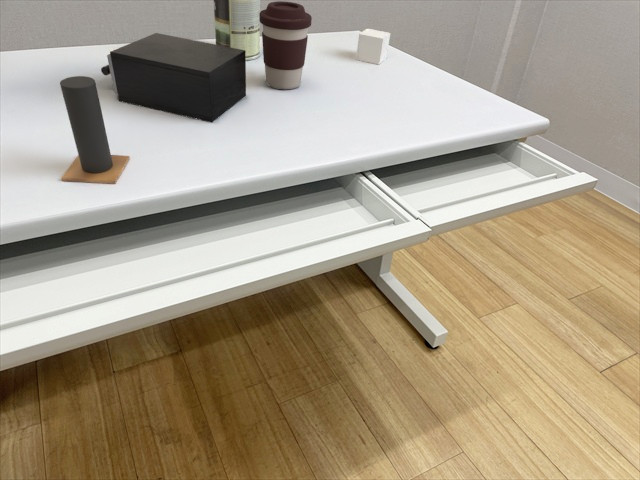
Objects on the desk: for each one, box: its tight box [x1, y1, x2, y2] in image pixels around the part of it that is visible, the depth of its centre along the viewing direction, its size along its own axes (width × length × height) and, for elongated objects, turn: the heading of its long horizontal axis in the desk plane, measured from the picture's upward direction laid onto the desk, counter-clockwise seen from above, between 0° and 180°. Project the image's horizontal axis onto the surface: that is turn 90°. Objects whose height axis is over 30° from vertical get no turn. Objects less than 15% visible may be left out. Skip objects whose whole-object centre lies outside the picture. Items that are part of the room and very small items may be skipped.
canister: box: [59, 75, 113, 173], centre depth 62 cm, size 4×4×12 cm
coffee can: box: [213, 0, 261, 62], centre depth 106 cm, size 10×10×14 cm
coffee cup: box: [259, 0, 313, 90], centre depth 93 cm, size 10×10×15 cm
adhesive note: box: [355, 27, 391, 66], centre depth 114 cm, size 6×6×6 cm
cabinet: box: [109, 32, 247, 123], centre depth 85 cm, size 19×14×9 cm
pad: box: [60, 154, 131, 185], centre depth 66 cm, size 7×7×1 cm
